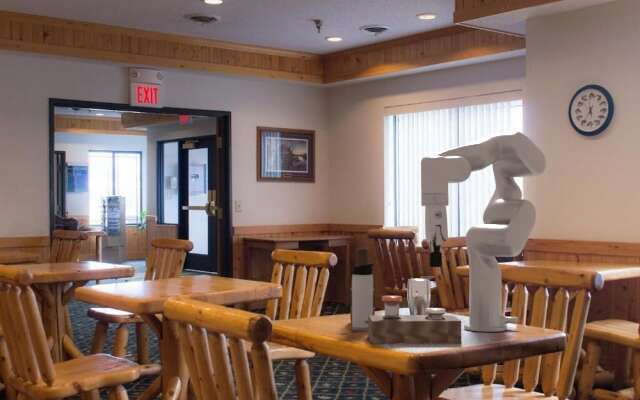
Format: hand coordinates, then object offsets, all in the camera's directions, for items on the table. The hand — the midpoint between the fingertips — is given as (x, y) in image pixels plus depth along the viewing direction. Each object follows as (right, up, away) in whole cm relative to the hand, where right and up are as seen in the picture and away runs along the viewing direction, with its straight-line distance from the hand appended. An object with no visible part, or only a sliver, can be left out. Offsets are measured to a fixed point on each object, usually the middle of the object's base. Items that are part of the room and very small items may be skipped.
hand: (435, 266), depth 210 cm
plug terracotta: (-12, -17, -1) cm, 21 cm away
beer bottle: (-19, -21, +32) cm, 43 cm away
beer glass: (-2, -21, +19) cm, 28 cm away
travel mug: (-19, -21, +17) cm, 33 cm away
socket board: (-6, -20, -1) cm, 21 cm away
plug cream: (0, -20, -1) cm, 20 cm away
